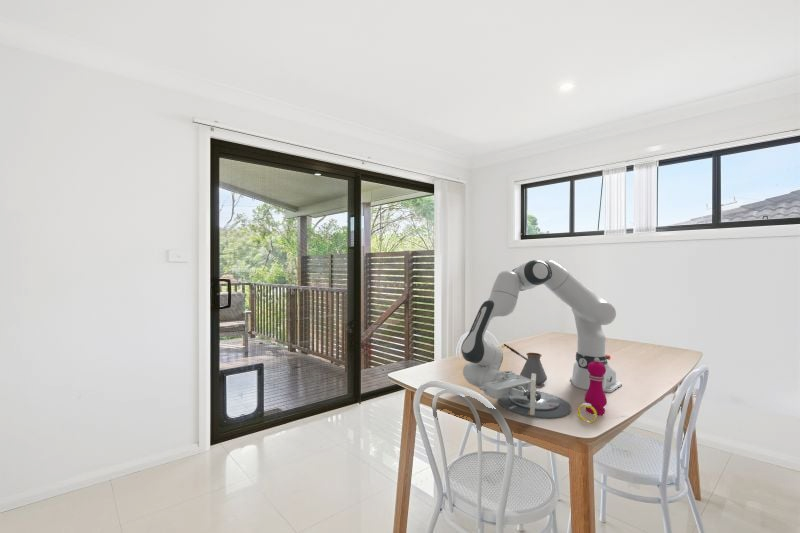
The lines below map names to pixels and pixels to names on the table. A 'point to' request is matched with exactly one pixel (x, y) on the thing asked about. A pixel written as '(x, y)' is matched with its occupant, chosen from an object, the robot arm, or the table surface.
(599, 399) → the pepper mill
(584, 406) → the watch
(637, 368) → the table surface
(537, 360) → the coffee pot
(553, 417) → the dial base
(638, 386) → the table surface
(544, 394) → the dial
